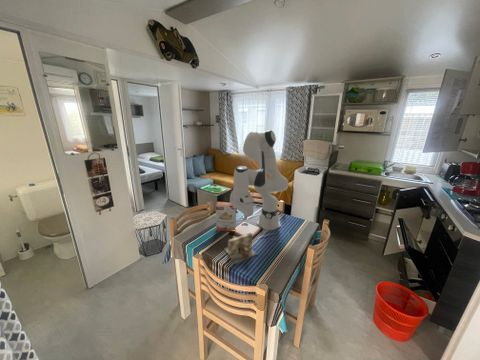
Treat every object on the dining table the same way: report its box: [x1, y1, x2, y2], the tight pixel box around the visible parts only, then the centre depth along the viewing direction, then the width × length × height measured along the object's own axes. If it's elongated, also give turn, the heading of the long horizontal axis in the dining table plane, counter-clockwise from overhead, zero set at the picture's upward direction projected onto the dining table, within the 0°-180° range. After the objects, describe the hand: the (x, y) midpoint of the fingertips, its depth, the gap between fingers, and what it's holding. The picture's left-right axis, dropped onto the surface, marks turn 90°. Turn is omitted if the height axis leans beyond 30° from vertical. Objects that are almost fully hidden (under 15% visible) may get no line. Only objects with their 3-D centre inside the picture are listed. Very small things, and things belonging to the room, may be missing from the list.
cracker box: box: [215, 201, 237, 232], centre depth 146 cm, size 14×6×21 cm, turn 85°
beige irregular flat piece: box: [227, 232, 253, 257], centre depth 123 cm, size 16×2×10 cm, turn 122°
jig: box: [223, 235, 258, 264], centre depth 123 cm, size 16×15×7 cm
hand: (240, 216), depth 118 cm, fingers open, 8 cm apart
